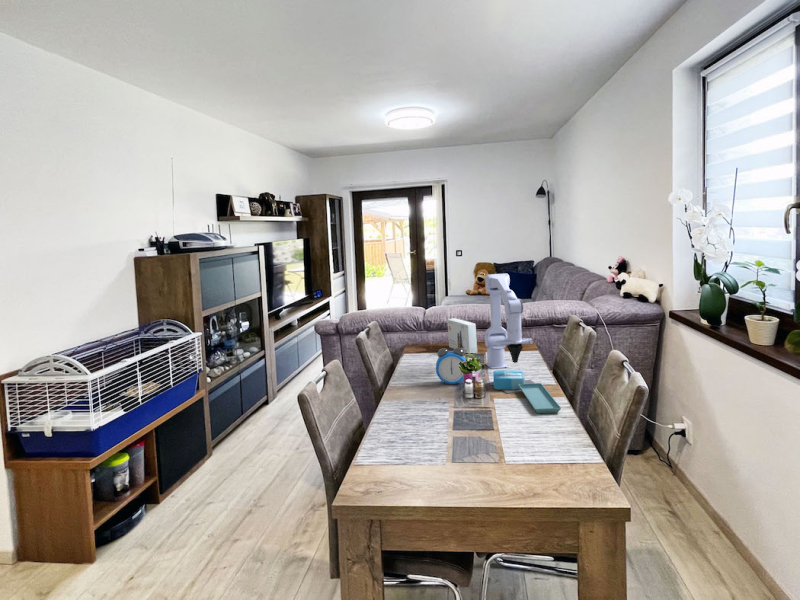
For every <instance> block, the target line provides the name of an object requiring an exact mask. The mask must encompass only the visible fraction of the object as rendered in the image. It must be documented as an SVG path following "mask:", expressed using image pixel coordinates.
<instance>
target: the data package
mask: <svg viewBox="0 0 800 600" xmlns="http://www.w3.org/2000/svg"><path fill="white" fill-rule="evenodd" d="M492 373H493V388H494V389H495V390H502V389H520V387H519V385H518V384H525V380H526V379H525V373H524V371H523V370H521V369H516V370H514V369H513V370H510V369H508V370H503V369H502V370H497V369H496V370H494V371H493V372H492Z"/></svg>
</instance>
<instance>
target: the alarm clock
mask: <svg viewBox="0 0 800 600" xmlns="http://www.w3.org/2000/svg"><path fill="white" fill-rule="evenodd" d="M465 354H466V353H464V351H463V349H461V348H455V349H453V348H451V349H449V350H448V348H445V347H442V348H439V350H438V351H437V357H438V358H437V359H436V363H435V372H436V376H437V377H438V378H439V379H440V381H442V382H443V385H445V384H449V385H457V384H460V383H461V382H462V381H463V380H464V379H463V374H462V372H461V371H460V368H459V363H460V362H463V361H465V360H466V358H465Z"/></svg>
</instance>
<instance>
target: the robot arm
mask: <svg viewBox="0 0 800 600" xmlns="http://www.w3.org/2000/svg"><path fill="white" fill-rule="evenodd" d="M484 281H485V283H484V284H485V286H484V287H485V291H486V292H488V293H489V301H490V302H489V303H490V305H489V306H490V308H489V309H490V327H488V328H487V329H486V330H485V333H484V345H485V346H486V348H487V350H486V362H485V365H486V366H487V367H489V368H490V369H505V367H506V368H509V366H508V365H507V364H506V357H505V348H506V347H507V350H508V352H509V354H510V356H511V361H512V363H514V364H516V363H518V362H519V361H518V360H519V357H520V355H521V352H522V350H523V347H524V346H523V345H528V344H529V345H530V344H531V345H532V344H533V338H531V337H529V338H528V337H525V338H524V337H523V338H522V336H523V335H522V314H523V312H524V305H523V300H522V299H521V298H518V297H517V295H516V293H515V292H514V291H513V290H512V289H510V287H509V286H510V282H511V279H510V275H509V274H508V273H506V272H505V273H491V274H488V273H487V274H486V276H485V280H484ZM501 301H502V302H503V304H504V305H503V306H504V312H505V313H504V314H505V319H506V329H505V328H504V327H503V326H502V307H501V306H502V304H501V303H502V302H501Z"/></svg>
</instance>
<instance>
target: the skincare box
mask: <svg viewBox="0 0 800 600" xmlns="http://www.w3.org/2000/svg"><path fill="white" fill-rule="evenodd" d="M446 323H447V333H448V334H447V335H448V346H449V348H451V349H452V350H454V349H455V348H461V349H463V351H464V353H465V354H466V353H476V354H478V344H477V343H478V341H477V327H476V326H477V325H476V323H474V322H471V321H468V320H464V319H459V318H457V317H452V318H447V321H446Z"/></svg>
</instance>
